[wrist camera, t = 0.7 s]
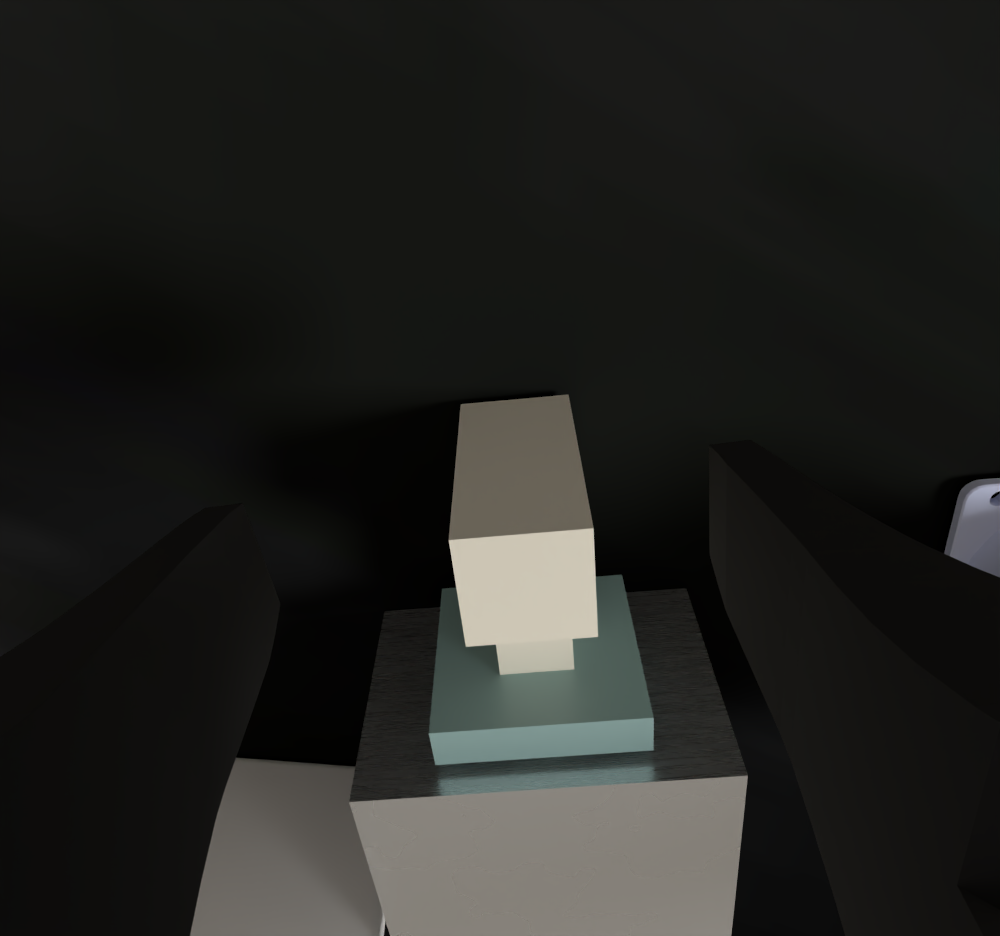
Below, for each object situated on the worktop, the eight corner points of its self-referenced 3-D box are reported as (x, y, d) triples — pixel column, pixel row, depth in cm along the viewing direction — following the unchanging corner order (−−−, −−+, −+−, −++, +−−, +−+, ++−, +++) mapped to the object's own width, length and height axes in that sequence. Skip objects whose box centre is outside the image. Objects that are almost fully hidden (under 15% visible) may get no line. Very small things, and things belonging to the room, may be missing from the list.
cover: (615, 390, 21) (656, 523, 16) (622, 725, 28) (653, 899, 23) (414, 408, 22) (386, 544, 16) (470, 736, 28) (464, 910, 23)
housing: (685, 587, 25) (747, 775, 19) (679, 768, 30) (728, 966, 24) (384, 611, 26) (348, 802, 20) (423, 785, 30) (405, 984, 24)
